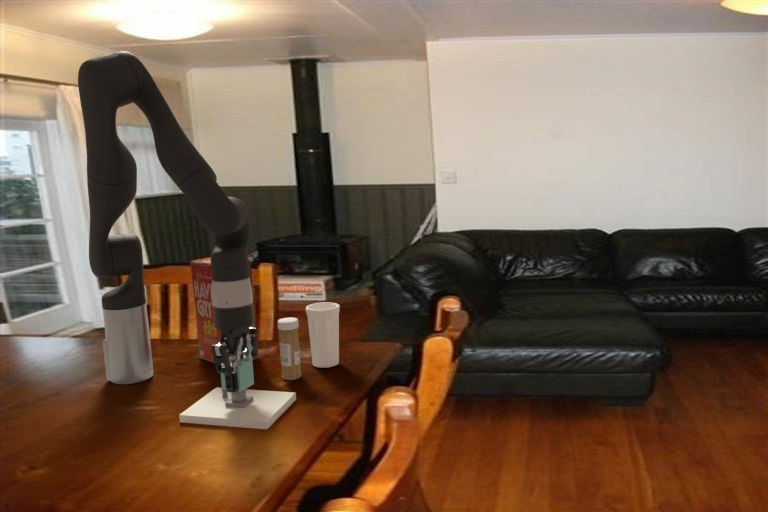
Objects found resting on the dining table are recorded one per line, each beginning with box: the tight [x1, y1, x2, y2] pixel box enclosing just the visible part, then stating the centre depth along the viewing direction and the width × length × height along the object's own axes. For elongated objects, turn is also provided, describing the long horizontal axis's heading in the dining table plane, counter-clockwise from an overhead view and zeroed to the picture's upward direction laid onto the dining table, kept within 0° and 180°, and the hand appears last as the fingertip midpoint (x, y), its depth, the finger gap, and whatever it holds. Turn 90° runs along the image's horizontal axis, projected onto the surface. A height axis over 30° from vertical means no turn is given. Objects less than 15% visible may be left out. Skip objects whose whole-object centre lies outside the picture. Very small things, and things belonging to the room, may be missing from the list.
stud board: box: [178, 386, 297, 430], centre depth 122 cm, size 18×14×5 cm
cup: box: [305, 301, 341, 369], centre depth 146 cm, size 8×8×14 cm
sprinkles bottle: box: [277, 317, 302, 381], centre depth 139 cm, size 5×5×13 cm
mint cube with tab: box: [220, 358, 255, 392], centre depth 121 cm, size 4×4×6 cm
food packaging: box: [189, 256, 259, 364], centre depth 153 cm, size 13×9×25 cm
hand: (239, 386), depth 122 cm, fingers open, 4 cm apart
